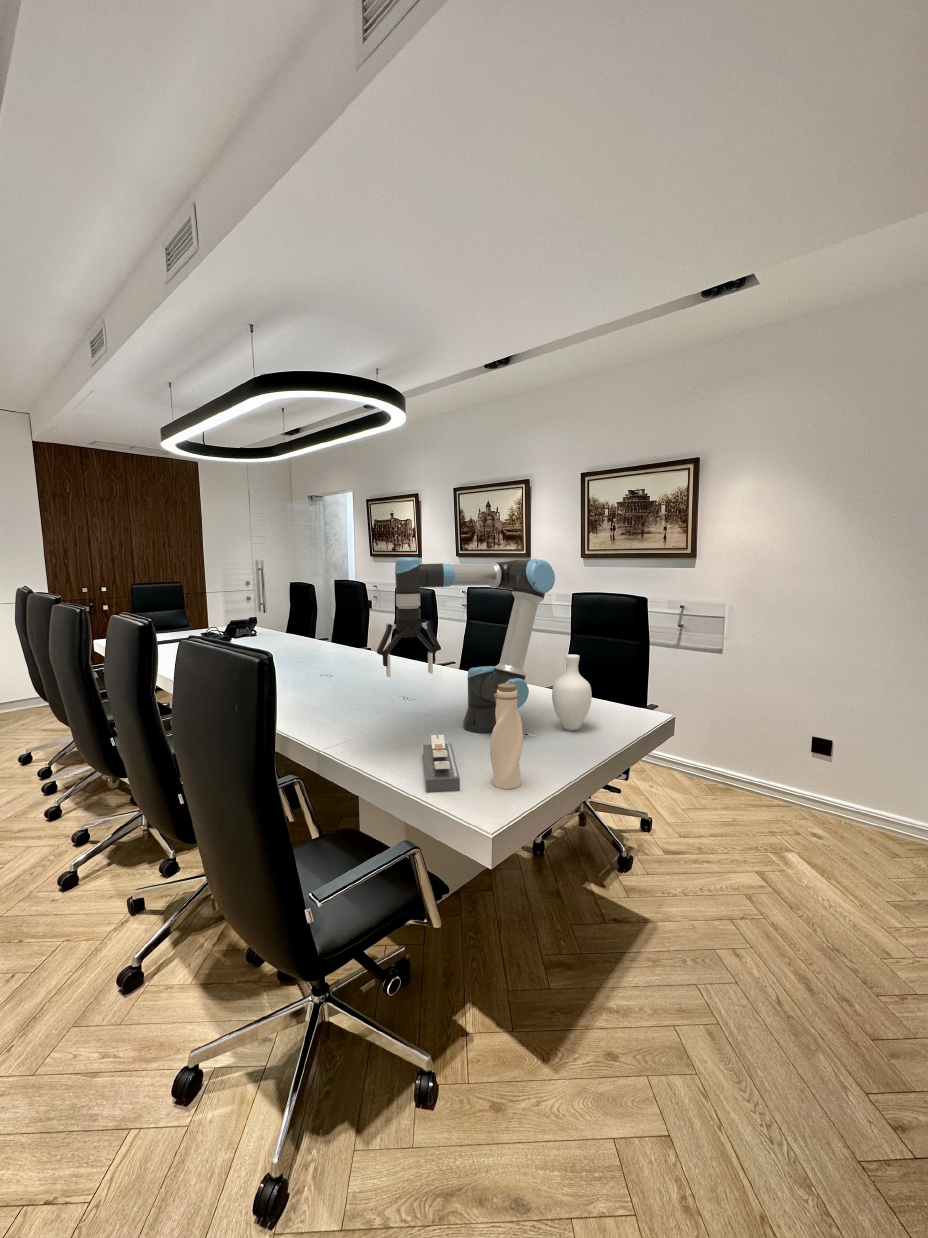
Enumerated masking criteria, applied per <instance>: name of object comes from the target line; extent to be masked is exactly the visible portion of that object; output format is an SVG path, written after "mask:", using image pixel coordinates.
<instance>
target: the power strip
mask: <svg viewBox="0 0 928 1238" xmlns="http://www.w3.org/2000/svg"><path fill="white" fill-rule="evenodd" d="M422 748H423V750H422V751H423V753H422V754H423V764H424V765H423V766H424V776H425V778H424V779H425V789H426V793H443V792H444V793H445V792H458V791H459V792H460V791H461V789H460V787H461V785H460V783H461V782H460V781H461V780H460V779H461V778H460V774H459V770H458V766H457V763H456V762H457V761H456V758H455V754H454V750H453V745H452V743H445V750H446V751H447V757H433V752H432V743H431V744H422ZM438 761H448V762H449V763H450V769H435V767H434V762H438Z"/></svg>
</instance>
